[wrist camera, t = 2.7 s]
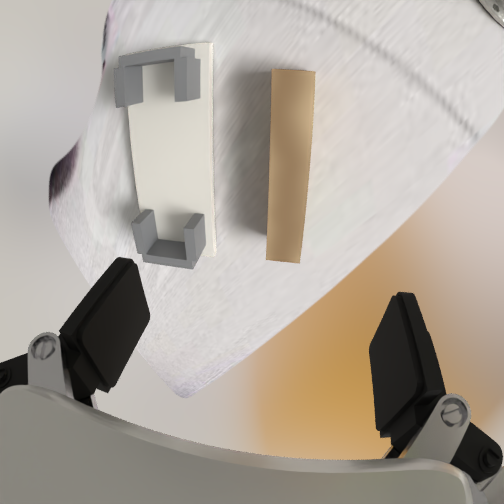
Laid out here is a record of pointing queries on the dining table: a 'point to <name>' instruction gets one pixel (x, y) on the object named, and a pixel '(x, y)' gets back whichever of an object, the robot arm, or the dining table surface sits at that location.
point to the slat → (289, 161)
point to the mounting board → (171, 150)
